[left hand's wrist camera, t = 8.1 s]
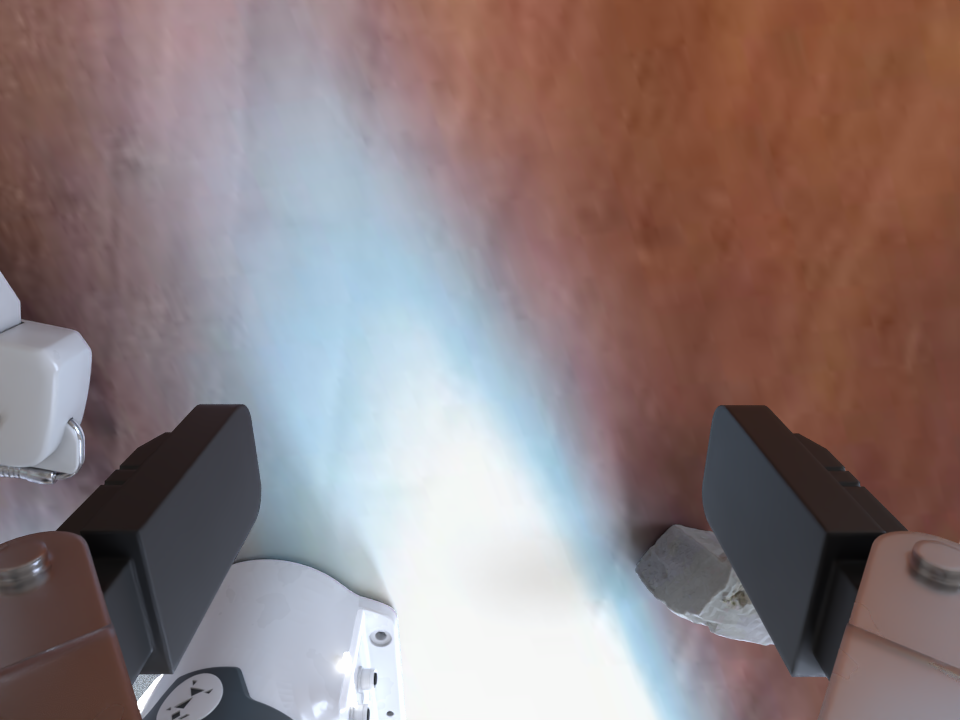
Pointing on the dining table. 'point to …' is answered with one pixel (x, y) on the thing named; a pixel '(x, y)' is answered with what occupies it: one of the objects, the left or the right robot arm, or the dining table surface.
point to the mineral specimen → (700, 584)
